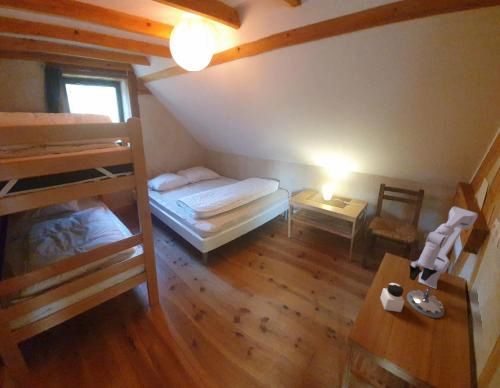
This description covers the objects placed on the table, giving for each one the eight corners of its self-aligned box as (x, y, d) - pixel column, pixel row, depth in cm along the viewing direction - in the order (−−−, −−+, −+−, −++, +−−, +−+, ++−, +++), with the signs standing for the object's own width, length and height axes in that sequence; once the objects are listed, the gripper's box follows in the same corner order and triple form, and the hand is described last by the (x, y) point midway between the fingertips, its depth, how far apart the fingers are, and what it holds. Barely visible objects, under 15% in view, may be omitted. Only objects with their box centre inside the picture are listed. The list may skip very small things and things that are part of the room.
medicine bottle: (401, 312, 108) (407, 293, 103) (384, 310, 109) (390, 291, 104) (395, 300, 114) (401, 282, 109) (379, 298, 116) (385, 280, 111)
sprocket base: (408, 287, 122) (409, 285, 121) (444, 302, 113) (445, 300, 112) (404, 306, 111) (404, 304, 110) (443, 324, 102) (444, 322, 102)
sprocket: (411, 287, 120) (413, 280, 118) (442, 300, 112) (446, 292, 110) (407, 304, 111) (410, 296, 108) (441, 319, 103) (445, 311, 101)
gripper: (425, 259, 104) (413, 284, 108) (448, 261, 108) (435, 285, 112) (411, 251, 111) (401, 274, 114) (433, 253, 115) (422, 276, 118)
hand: (417, 279), depth 113 cm, fingers open, 7 cm apart
